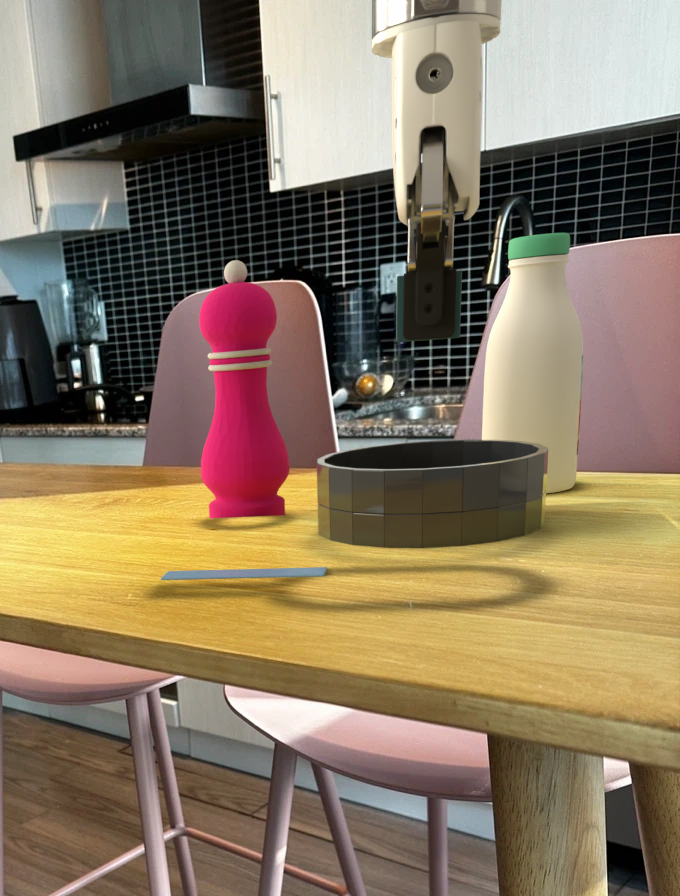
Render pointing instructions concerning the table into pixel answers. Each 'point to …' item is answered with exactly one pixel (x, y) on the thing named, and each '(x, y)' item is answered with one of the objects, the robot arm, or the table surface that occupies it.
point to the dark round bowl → (432, 493)
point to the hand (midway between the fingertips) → (428, 334)
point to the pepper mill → (241, 402)
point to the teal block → (400, 309)
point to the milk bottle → (537, 358)
